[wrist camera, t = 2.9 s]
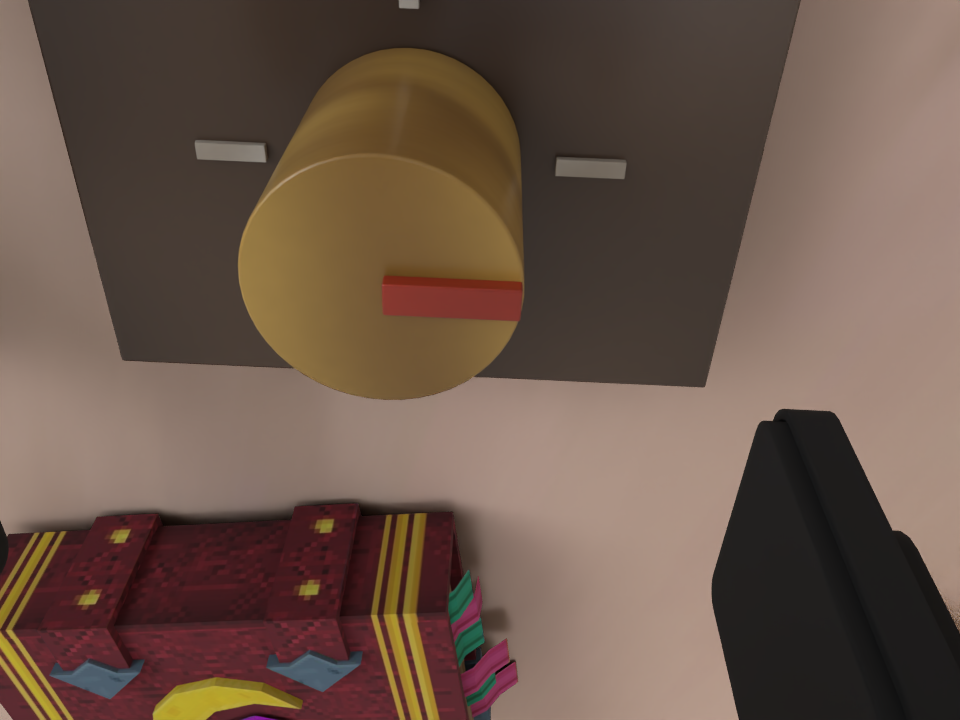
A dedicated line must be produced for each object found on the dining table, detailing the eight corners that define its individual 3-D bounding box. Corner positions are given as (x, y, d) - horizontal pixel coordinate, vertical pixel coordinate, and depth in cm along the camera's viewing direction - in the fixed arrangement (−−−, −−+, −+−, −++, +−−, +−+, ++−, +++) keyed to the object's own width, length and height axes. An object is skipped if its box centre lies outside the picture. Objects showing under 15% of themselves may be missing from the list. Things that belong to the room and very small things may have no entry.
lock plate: (162, 295, 23) (119, 365, 20) (56, -195, 16) (-26, -181, 14) (684, 319, 23) (706, 392, 20) (788, -160, 16) (839, -140, 14)
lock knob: (310, 250, 18) (250, 406, 14) (291, 41, 16) (211, 155, 12) (513, 259, 18) (515, 418, 14) (528, 52, 16) (536, 170, 12)
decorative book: (7, 516, 28) (-77, 647, 24) (493, 490, 27) (491, 624, 23) (125, 710, 35) (75, 837, 31) (520, 697, 33) (521, 828, 29)
